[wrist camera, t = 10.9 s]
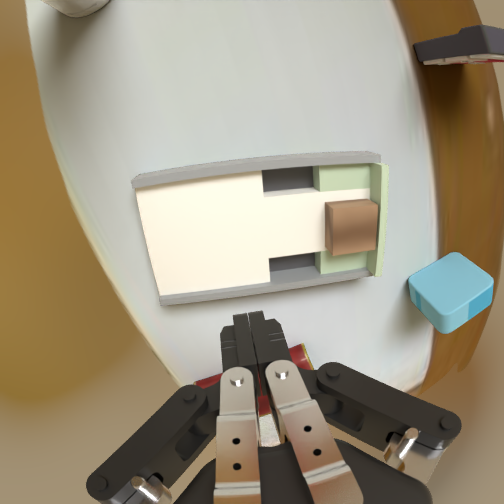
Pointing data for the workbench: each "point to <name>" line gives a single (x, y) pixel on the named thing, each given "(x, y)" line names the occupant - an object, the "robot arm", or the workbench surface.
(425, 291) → the data package
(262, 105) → the workbench surface
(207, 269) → the box
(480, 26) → the grey white red block
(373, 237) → the walnut block
